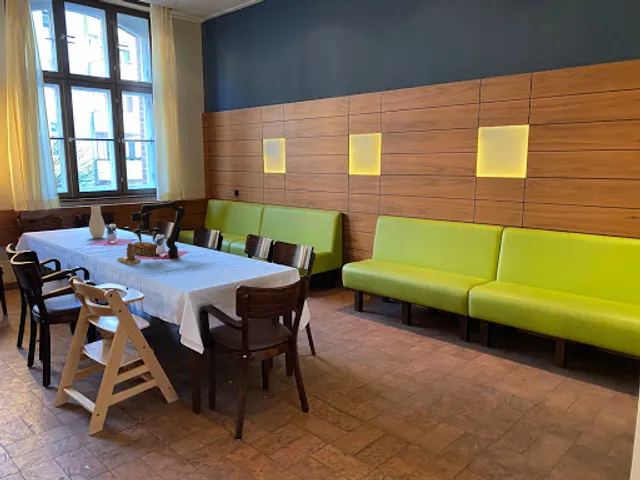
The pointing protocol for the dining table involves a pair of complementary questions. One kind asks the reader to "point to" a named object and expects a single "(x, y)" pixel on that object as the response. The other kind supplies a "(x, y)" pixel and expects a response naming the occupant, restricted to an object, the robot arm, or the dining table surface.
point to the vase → (96, 223)
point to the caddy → (128, 261)
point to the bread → (145, 248)
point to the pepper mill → (130, 252)
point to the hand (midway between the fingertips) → (147, 242)
